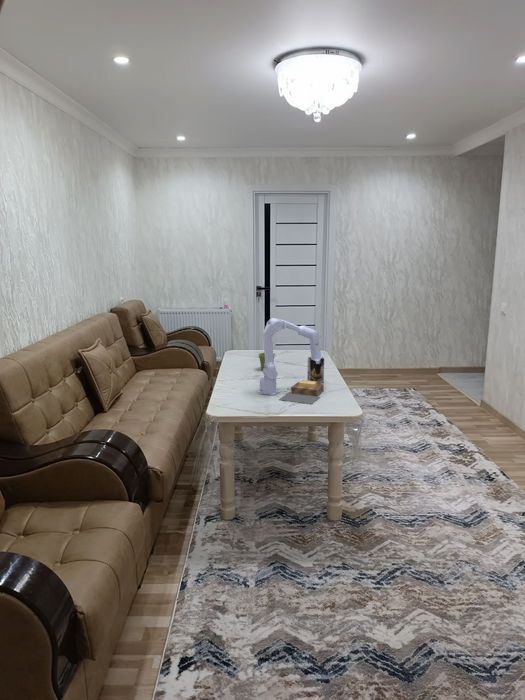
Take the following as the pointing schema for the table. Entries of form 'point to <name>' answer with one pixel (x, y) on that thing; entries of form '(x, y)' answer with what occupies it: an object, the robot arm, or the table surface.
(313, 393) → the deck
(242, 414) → the table surface
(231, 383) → the table surface
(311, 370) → the coffee box
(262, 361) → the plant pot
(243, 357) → the table surface
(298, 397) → the mat
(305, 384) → the tile
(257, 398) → the table surface
